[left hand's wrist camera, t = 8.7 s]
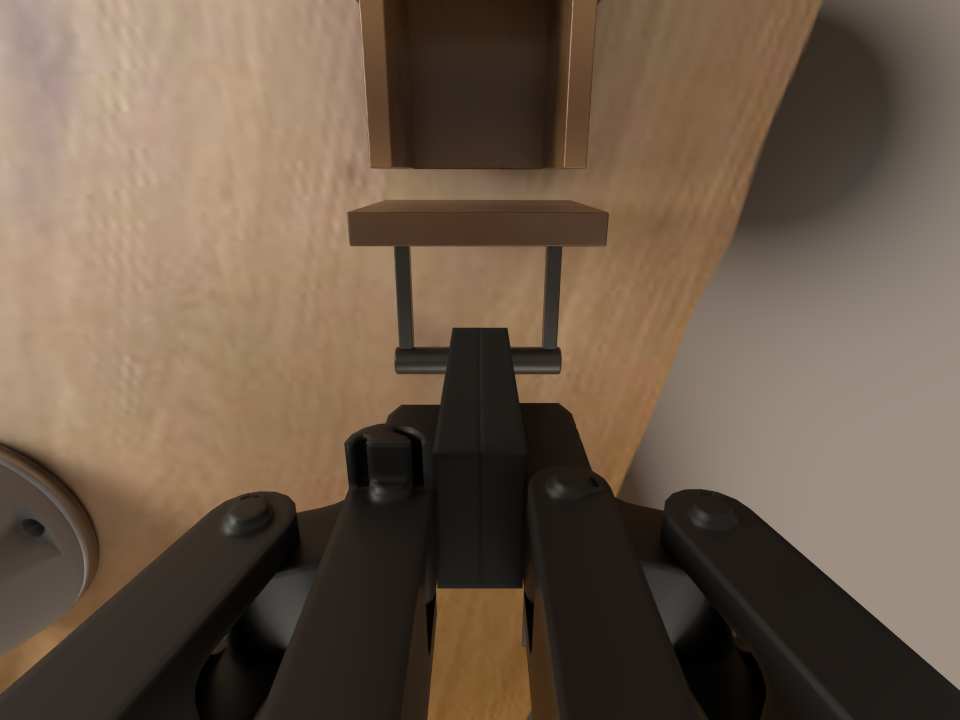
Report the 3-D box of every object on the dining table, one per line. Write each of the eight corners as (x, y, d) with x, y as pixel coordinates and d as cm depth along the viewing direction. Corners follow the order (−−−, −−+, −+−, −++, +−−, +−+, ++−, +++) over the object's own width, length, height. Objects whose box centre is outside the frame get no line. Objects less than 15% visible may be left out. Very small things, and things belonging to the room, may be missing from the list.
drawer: (563, 337, 29) (594, 398, 21) (393, 337, 29) (361, 398, 21) (601, -323, 20) (679, -634, 12) (355, -324, 20) (277, -637, 12)
